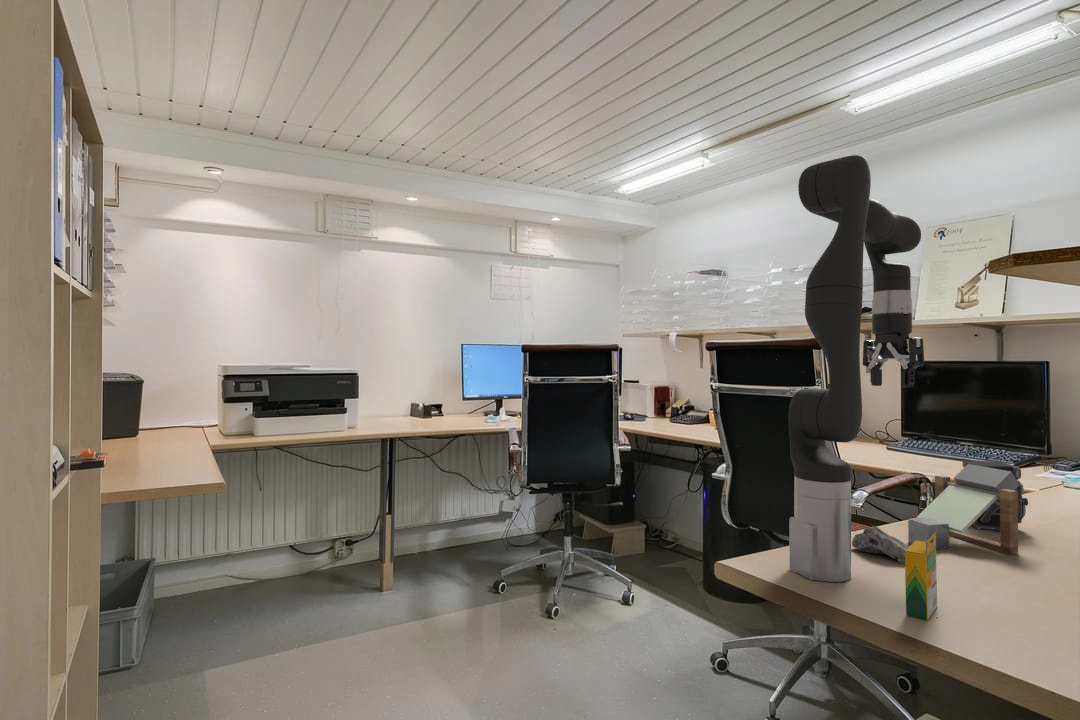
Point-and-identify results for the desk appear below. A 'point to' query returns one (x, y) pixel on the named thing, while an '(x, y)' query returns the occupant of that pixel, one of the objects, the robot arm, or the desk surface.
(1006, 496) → the frame
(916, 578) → the crayon box
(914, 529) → the iron cube
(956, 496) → the trapdoor
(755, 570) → the desk surface
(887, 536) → the fossilized seashell
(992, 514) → the camera
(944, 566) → the desk surface
